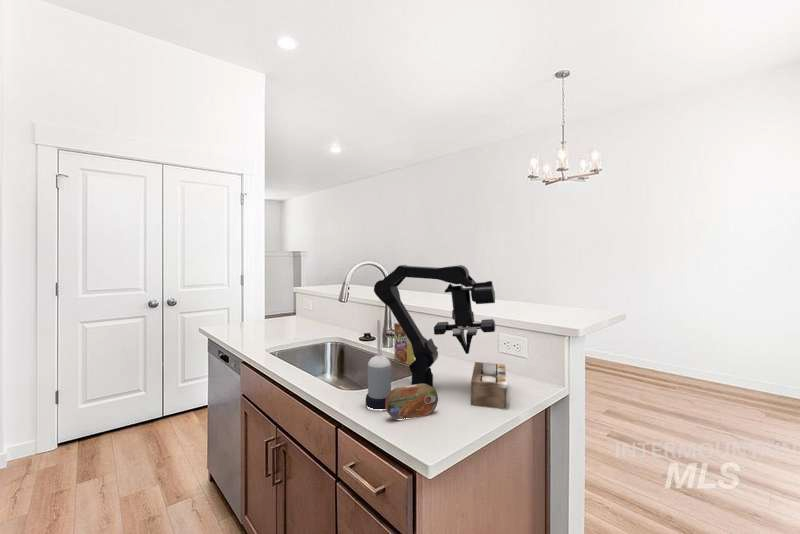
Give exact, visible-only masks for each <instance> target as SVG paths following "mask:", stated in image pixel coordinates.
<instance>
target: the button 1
mask: <svg viewBox="0 0 800 534" xmlns="http://www.w3.org/2000/svg"><path fill="white" fill-rule="evenodd" d="M482 381H484V382H495V383H496V378H495V377H492V376H483V377H482Z"/></svg>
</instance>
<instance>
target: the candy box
mask: <svg viewBox="0 0 800 534" xmlns="http://www.w3.org/2000/svg"><path fill="white" fill-rule="evenodd" d="M393 326H394V329H393V331H394V332H393V333H394V337H393V338H394V339H393V340H394V341H393V342H394V344H393V345H394V347H393V348H394V349H393V350H394V360H396V361H398V362H401V363H403V364H404V365H405V364H406V365H411V364H412V363H413V362H414V361H415V356H414V354H413V349H412V345H411V342H410V341H409V339H408V337H407V336H406V334H405V333H404V331H403V329H402V328H401V326H400V324H399V323H398V322H394V323H393Z"/></svg>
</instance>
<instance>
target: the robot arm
mask: <svg viewBox="0 0 800 534" xmlns="http://www.w3.org/2000/svg"><path fill="white" fill-rule="evenodd" d="M405 278H412V279H413V278H414V279H415V278H416V279H427V280H428V279H429V280H430V279H431V280H438V281H442V282H445V283H449V284H448V286H446V287H447V288H445V290H444V293H446V294H447V293H451V302H452V312H451V315H452V316H451V318H452V320H454V323H452V324H451V323H450V324H449V321H438V322H437V323H436V324H435V325H434V327H433V334H434V335H435V336H436V335H437V336H438V335H439V336H441V335H445V333H446V332H448V331H452V337H455V338H456V339H457V340H458V342H459V344H460V345H461V347H462V349H463V351H464V353H465V355H468V354H469V353H470V350H471V349H470V348H471V344H472V340H473V336H477V333H478V330H481V331H482V332H483V333H495V332H496V321H495V320H494V318H490V319H489V318H488V319H487V318H486V319H481V322H475V315H474V314H475V313H474V311H472V302H473V303H475V305H489V304H495V303H496V293H495V290H494V285H493V281H492V280H488V281H485V282H483V281H482V282H476V281H475V279H473V278H472V277H471V275H470V272H469V270H468V268H467V267H466V266H465V265H462V264H460V265H459V264H458V265H451V266H450V265H449V266H443V267H437V266H436V267H433V266H418V265H417V266H416V265H415V266H413V265H407V264H402V265H401V264H400V265H397V266H396V267H395V269H394V270H392V271H391V272H390V273H389V274H387V276H385V277H384V278H383V279H380V280H378V281H376V282H375V284H374V286H373V292H374V294H375V295H376V297H377V298H378V299H379V300H380V302H382V303H384V304H385V305H386V306H387V307H388V308H389V309H390V311H391V313H392V315H393V316H394V318H395V320H396V321H397V323H399V324H400V326H401V328H402V329H403V331H404V333H405V334H406V336H407V337H408V339H409V341H410V342H411V345H412V349H413V354H414V362H413V363H411V364H408V365H409V366H408V368H409V371H410V372H411V382H410V385H415V384H422V383H423V384H427V385H430V386H432V387H433V388H434V374H433V372H432V368H431V367H432V366H433V365H434V363H435V362H436V361H437V359H438V357H439V352H438V349H439V348H438V347H437V346H436V345H435V343H434V340H433V338H431V337H430V338H429V339H427V338H426V337H425V336H423V334H422V333H421V331H420V329H419V328H418V327H417V324H416V322H415V321H414V319H413V318H412V316H411V315H410V313H409V311H408V310H407V308H406V307H405V305H404V304H403V303H404V302H402V300H401V294H400V291H399V289H398V287H399V286H400V284H402V282H403V281H404V280H405ZM465 331H467V332H466V334H465ZM465 336H466V337H465Z"/></svg>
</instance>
